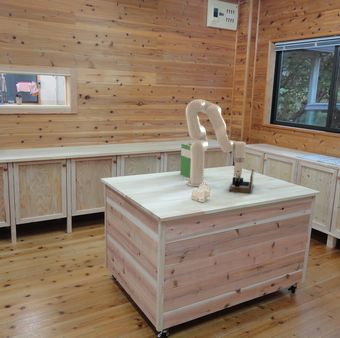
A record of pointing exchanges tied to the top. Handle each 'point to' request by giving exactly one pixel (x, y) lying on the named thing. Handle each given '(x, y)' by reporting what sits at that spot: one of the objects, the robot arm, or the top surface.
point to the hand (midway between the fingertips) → (237, 185)
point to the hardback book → (185, 160)
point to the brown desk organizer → (244, 190)
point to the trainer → (242, 183)
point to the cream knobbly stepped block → (199, 195)
